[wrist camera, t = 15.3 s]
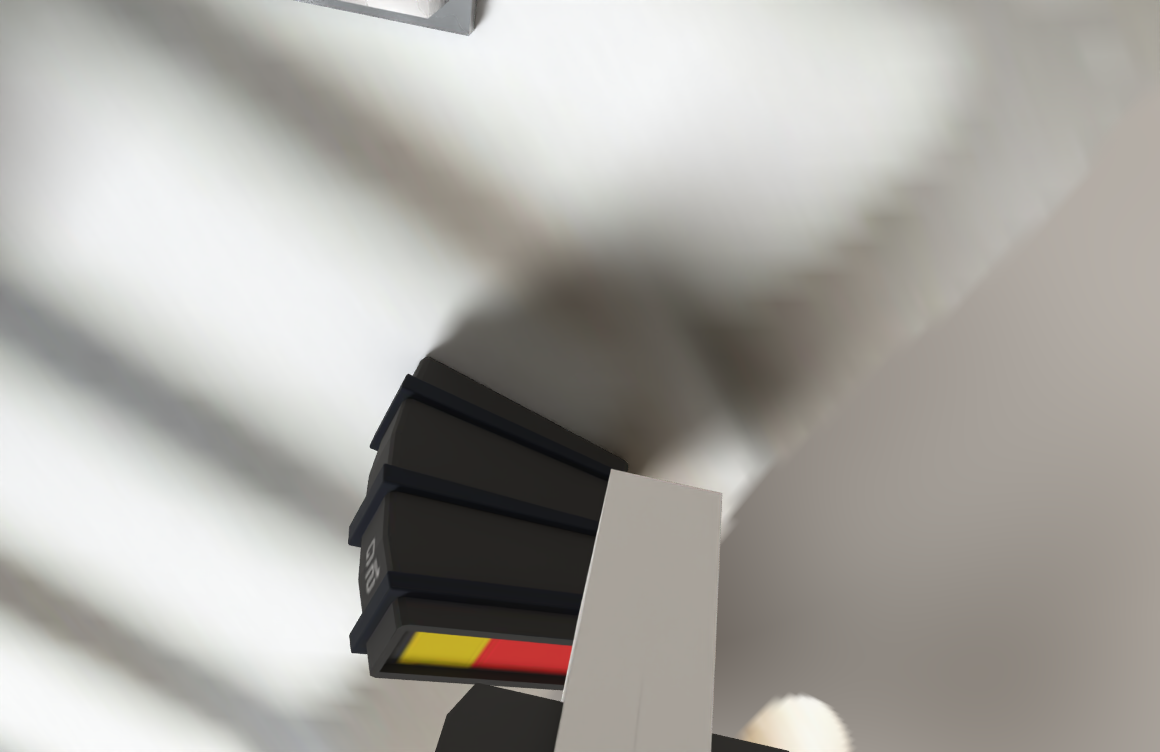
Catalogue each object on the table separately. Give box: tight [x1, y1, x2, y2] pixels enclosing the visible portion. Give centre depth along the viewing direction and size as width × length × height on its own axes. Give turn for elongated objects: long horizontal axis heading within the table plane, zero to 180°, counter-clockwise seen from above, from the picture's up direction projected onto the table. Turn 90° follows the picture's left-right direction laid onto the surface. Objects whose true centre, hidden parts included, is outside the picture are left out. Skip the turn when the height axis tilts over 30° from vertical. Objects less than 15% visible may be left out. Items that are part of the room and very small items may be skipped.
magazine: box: [348, 357, 628, 690], centre depth 44 cm, size 4×13×15 cm, turn 61°
